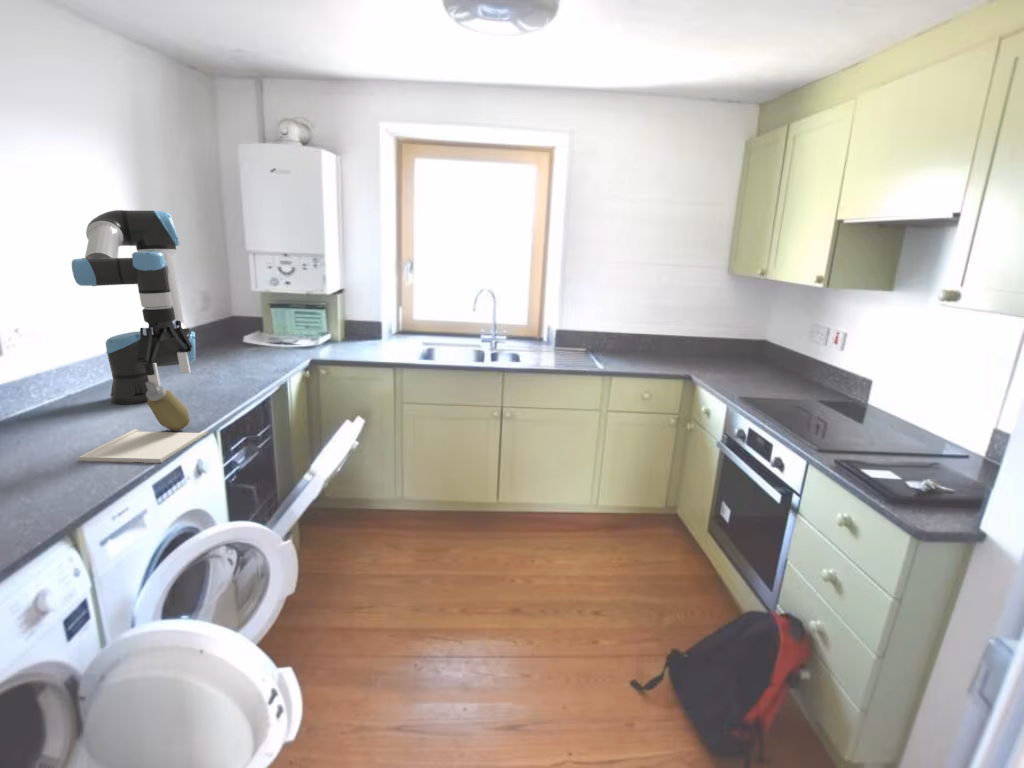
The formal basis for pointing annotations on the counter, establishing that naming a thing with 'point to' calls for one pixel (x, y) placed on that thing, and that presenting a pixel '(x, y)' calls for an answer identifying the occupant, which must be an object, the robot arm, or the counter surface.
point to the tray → (143, 447)
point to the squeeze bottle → (166, 407)
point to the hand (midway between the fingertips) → (171, 379)
